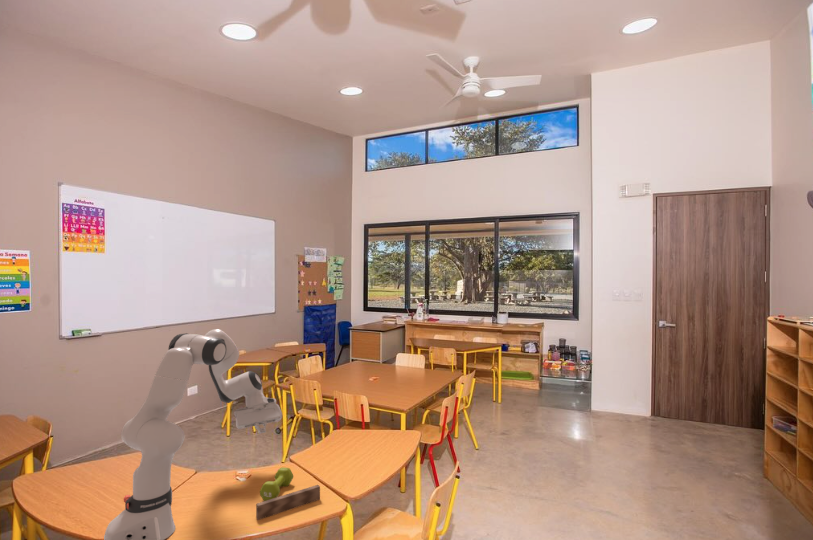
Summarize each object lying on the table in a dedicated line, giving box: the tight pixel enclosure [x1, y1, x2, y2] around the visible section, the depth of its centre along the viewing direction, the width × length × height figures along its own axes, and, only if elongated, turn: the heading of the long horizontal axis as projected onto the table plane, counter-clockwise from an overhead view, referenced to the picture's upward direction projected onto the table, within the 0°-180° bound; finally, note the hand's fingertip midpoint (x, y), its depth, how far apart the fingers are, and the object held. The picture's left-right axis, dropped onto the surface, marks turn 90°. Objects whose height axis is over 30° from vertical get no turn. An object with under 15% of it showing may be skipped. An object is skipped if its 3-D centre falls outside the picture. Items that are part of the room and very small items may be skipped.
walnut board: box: [255, 484, 321, 521], centre depth 157 cm, size 24×2×5 cm, turn 125°
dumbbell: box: [259, 467, 294, 501], centre depth 169 cm, size 16×8×7 cm, turn 171°
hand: (262, 432), depth 186 cm, fingers closed
